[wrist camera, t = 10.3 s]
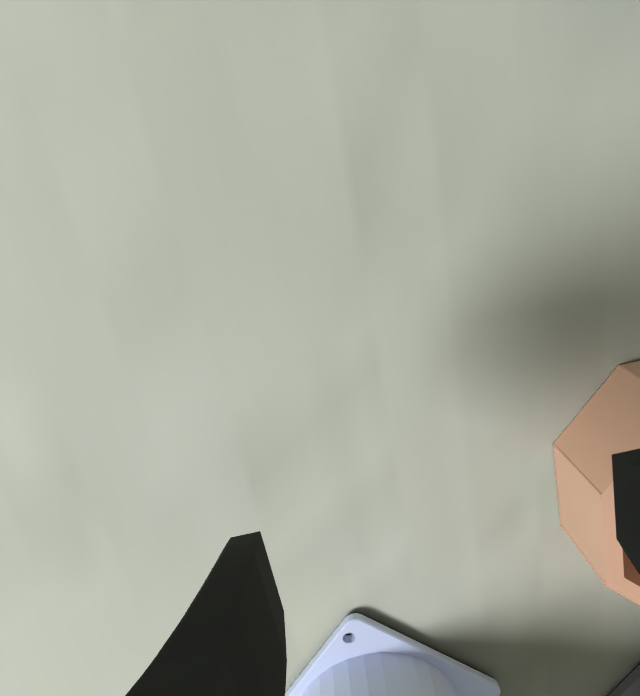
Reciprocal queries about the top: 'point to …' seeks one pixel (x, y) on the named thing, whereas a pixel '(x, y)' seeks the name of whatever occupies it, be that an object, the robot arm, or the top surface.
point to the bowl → (600, 476)
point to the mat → (629, 685)
